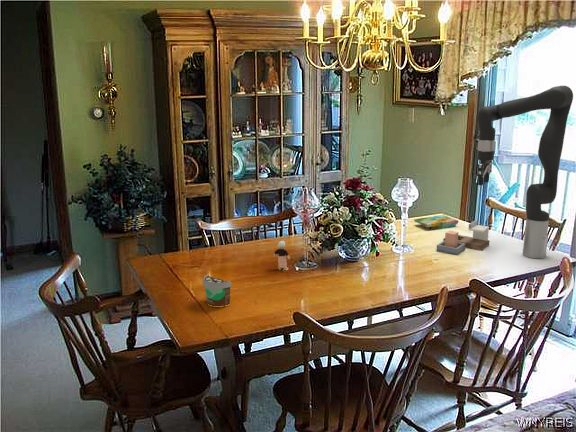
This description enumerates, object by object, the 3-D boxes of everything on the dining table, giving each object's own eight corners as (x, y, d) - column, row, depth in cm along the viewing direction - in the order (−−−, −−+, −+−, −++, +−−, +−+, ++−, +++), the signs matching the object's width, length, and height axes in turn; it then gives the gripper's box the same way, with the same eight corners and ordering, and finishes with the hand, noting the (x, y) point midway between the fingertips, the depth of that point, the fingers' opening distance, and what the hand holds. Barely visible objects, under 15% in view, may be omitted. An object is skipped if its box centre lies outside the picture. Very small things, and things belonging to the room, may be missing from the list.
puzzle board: (489, 245, 267) (489, 240, 266) (482, 250, 259) (482, 245, 259) (451, 238, 278) (451, 233, 277) (443, 243, 270) (443, 238, 270)
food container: (196, 303, 204) (195, 278, 202) (208, 298, 209) (207, 273, 206) (220, 312, 197) (219, 286, 194) (232, 306, 202) (231, 280, 199)
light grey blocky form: (487, 240, 266) (489, 222, 263) (482, 244, 260) (483, 226, 257) (473, 237, 270) (474, 220, 267) (467, 241, 264) (468, 224, 261)
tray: (465, 249, 261) (465, 243, 260) (457, 255, 253) (457, 249, 253) (444, 245, 267) (445, 239, 266) (436, 251, 259) (436, 245, 258)
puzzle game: (458, 218, 297) (427, 223, 290) (457, 227, 298) (426, 231, 291) (444, 213, 308) (414, 217, 300) (444, 221, 309) (413, 226, 301)
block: (457, 248, 260) (458, 232, 258) (453, 250, 257) (454, 234, 255) (448, 246, 263) (449, 230, 261) (444, 249, 260) (445, 232, 257)
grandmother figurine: (291, 268, 239) (291, 240, 236) (289, 271, 236) (289, 243, 232) (274, 266, 241) (274, 239, 238) (272, 269, 238) (271, 241, 234)
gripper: (482, 147, 266) (480, 180, 270) (472, 150, 255) (470, 185, 259) (498, 148, 262) (496, 182, 266) (489, 151, 251) (486, 187, 255)
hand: (483, 183), depth 262 cm, fingers open, 8 cm apart
